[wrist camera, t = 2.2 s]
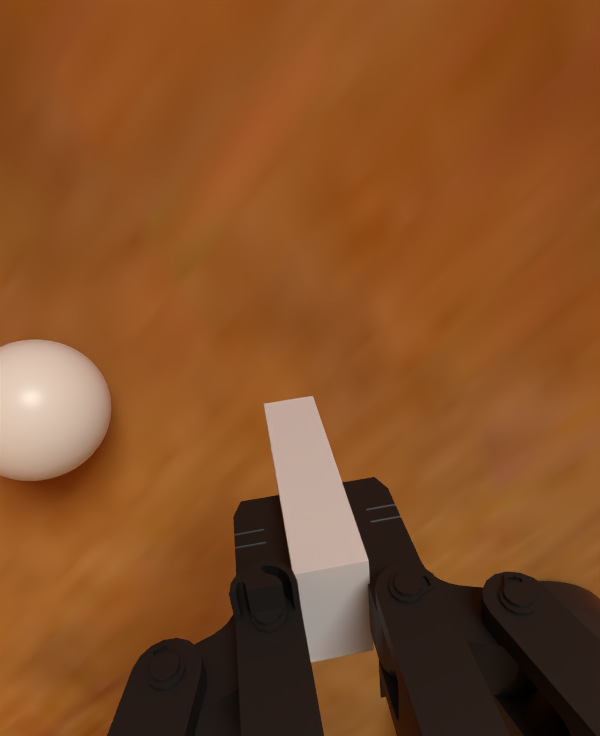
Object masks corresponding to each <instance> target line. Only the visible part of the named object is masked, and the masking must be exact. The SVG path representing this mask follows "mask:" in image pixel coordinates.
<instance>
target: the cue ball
mask: <svg viewBox="0 0 600 736" xmlns="http://www.w3.org/2000/svg"><path fill="white" fill-rule="evenodd" d="M111 409H112V406H111V396H110V392H109V388H108V386H107V383H106V381H105V379H104V377H103V375H102V374H101V372H100V371H99V369H98V368H97V367H96V365H95V364H94V363H93V362H92V361H91V360H90V359H88V358H87V357H86V356H85V355H83V354H82V353H80V352H79V351H77V350H75V349H73V348H71V347H69V346H67V345H64V344H61V343H58V342H53V341H49V340H23V341H17V342H13V343H9V344H6V345H4V346H1V347H0V476H3V477H6V478H10V479H14V480H21V481H39V480H46V479H51V478H54V477H58V476H61V475H63V474H65V473H68V472H70V471H71V470H73V469H75V468H77V467H78V466H80V465H81V464H82V463H84V462H85V461H86V460H87V459H88V458H89V457H91V456H92V454H93V453H94V452H95V451H96V449H97V448H98V447H99V446H100V444H101V443H102V441H103V439H104V437H105V435H106V433H107V430H108V427H109V423H110V418H111Z"/></svg>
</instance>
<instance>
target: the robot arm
mask: <svg viewBox="0 0 600 736" xmlns="http://www.w3.org/2000/svg"><path fill="white" fill-rule="evenodd" d="M264 407H265V414H266V420H267V427H268V434H269V440H270V447H271V454H272V460H273V467H274V474H275V480H276V486H277V492H278V495H276V496H271V497H265V498H259V499H253V500H248V501H242V502H241V503H240V505H239V507H238V509H237V511H236V513H235V515H234V534H235V555H236V577H235V578H234V579H233V581H232V582H231V586H230V592H229V596H230V600H231V605H232V609H233V613H234V614H233V616H232V617H231V619H230V620H229V622H228V623H227V624H226V625H225V626H224V627H223V628H222V629H221V630H219V631H218V632H216V633H215V634H213V635H212V636H210V637H208V638H206V639H204V640H202V641H200V642H198V643H196V644H195V645H193V644H192V643H191V642H190V641H188V640H183V639H179V638H174V639H168V640H163V641H161V642H159V643H157V644H155V645H153V646H151V647H150V648H149V649H148V650H147V651H146V652H144V653H143V654H142V655H141V656H140V657H139V659H138V661H137V662H136V664H135V666H134V668H133V669H132V672H131V674H130V677H129V679H128V682H127V685H126V687H125V690H124V693H123V695H122V698H121V701H120V703H119V706H118V708H117V711H116V714H115V716H114V719H113V722H112V724H111V727H110V729H109V732H108V735H107V736H324V733H323V728H322V722H321V716H320V711H319V705H318V700H317V694H316V688H315V683H314V677H313V672H312V666H311V663H312V662H317V661H322V660H327V659H332V658H336V657H341V656H346V655H351V654H356V653H361V652H366V651H371V650H373V640H374V644H375V647H376V651H377V654H378V657H379V675H380V692H381V697H386V698H387V702H388V705H389V709H390V712H391V716H392V719H393V723H394V726H395V729H396V733H397V736H600V599H599V598H598V597H597V596H596V595H594V594H593V593H591V592H590V591H588V590H586V589H584V588H581V587H579V586H576V585H572V584H568V583H562V582H552V581H541V582H538V581H537V580H535V579H534V578H532V577H530V576H527V575H524V574H522V573H516V572H503V573H499V574H495V575H493V576H492V577H491V578H489V579H488V580H487V581H486V583H485V585H484V587H483V588H481V587H470V586H460V585H455V584H450V583H447V582H445V581H442V580H440V579H438V578H437V577H435V576H434V575H433V574H432V573H431V572H429V571H428V570H427V569H426V568H425V567H424V565H423V564H422V562H421V560H420V558H419V556H418V554H417V552H416V549H415V547H414V545H413V543H412V541H411V538H410V536H409V534H408V532H407V530H406V527H405V525H404V523H403V521H402V519H401V518H400V514H399V512H398V510H397V507H396V506H395V503H394V501H393V499H392V496H391V494H390V492H389V490H388V488H387V487H386V486H384V485H383V484H382V483H381V482H380V481H378V480H377V479H376V478H375V477H372V478H366V479H360V480H355V481H349V482H343V483H342V481H341V478H340V475H339V472H338V469H337V466H336V463H335V460H334V457H333V454H332V451H331V448H330V445H329V442H328V440H327V437H326V434H325V431H324V428H323V425H322V422H321V419H320V416H319V413H318V410H317V407H316V404H315V401H314V398H313V396H310V397H303V398H297V399H291V400H285V401H278V402H272V403H266V404H264Z"/></svg>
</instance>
